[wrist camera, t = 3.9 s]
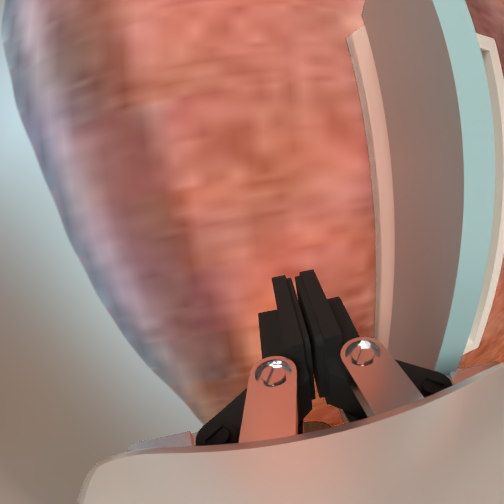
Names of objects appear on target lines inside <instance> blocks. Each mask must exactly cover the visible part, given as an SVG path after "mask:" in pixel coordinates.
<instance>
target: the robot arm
mask: <svg viewBox="0 0 504 504" xmlns="http://www.w3.org/2000/svg"><path fill="white" fill-rule="evenodd" d="M295 281H296V288H297V295H298V299H297V296H296V292H295V289H294V286H293V283H292V279H291V278H287V279H286V277H285V275H283V276H278V277H273V278H272V283H273V288H274V293H275V298H276V304H277V309H278V310H273V311H267V312H262V313H258V317H259V328H260V339H261V350H262V360H260V361H259V362H257V363H256V364H255V365H254V366H253V367H252V369H251V372H250V375H249V381H248V388H246V389H245V390H244V391H243V392H242V393H241V394H240V395H239V396H238V397H236V398H235V399H234V400H233V401H232V402H231V403H230V404H229V405H227V406H226V407H225V408H224V409H223V410H222V411H221V412H219V413H218V414H217V415H216V416H215V417H214V418H212V419H211V420H210V421H209V422H208V423H206V424H205V425H204V426H203V427H202V428H201V429H200V431H198V432H197V433H193V434H191V433H190V432H185V433H180V434H176V435H171V436H166V437H161V438H156V439H151V440H144V441H139V442H136V443H134V444H132V445H131V446H130V447H129V448H128V449H127V451H126V452H124V453H120V454H116V455H113V456H110V457H108V458H106V459H103V460H102V461H100V462H98V463H97V464H95V466H94V467H93V468H92V469H91V470H90V472H89V473H88V475H87V477H86V479H85V481H84V484H83V486H82V488H81V491H80V494H79V497H78V500H77V504H504V362H502V363H499V362H489V363H485V364H482V365H478V366H474V367H470V368H465V369H461V370H456V371H452V372H450V373H449V375H444V374H442V373H440V372H437V371H433V370H430V369H426V368H423V367H419V366H416V365H413V364H409V363H406V362H403V361H399V360H396V359H394V358H393V357H392V356H391V354H390V353H389V352H388V351H387V349H386V348H385V347H384V346H383V344H382V343H380V342H379V341H378V340H376V339H374V338H370V337H359V335H358V333H357V331H356V329H355V327H354V325H353V323H352V321H351V319H350V317H349V315H348V313H347V311H346V309H345V307H344V305H343V303H342V301H341V299H340V298H339V297H335V298H330V299H326V296H325V294H324V292H323V290H322V288H321V285H320V283H319V281H318V279H317V277H316V274H315V272H314V270H308V271H303V272H300V276H297V277H295ZM313 374H314V376H313ZM314 378H315V382H316V386H317V389H318V393H319V397H320V398H322V397H325V399H326V403H327V404H330V405H333V406H335V407H337V408H339V411H340V414H341V416H342V418H343V420H344V422H345V424H343V425H340V426H336V427H331V428H327V429H323V430H318V431H314V432H309V433H304V418H305V416H306V415H307V414H308V413H309V412H310V411H311V409H312V399H315V387H314Z"/></svg>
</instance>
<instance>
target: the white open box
mask: <svg viewBox="0 0 504 504" xmlns="http://www.w3.org/2000/svg"><path fill="white" fill-rule="evenodd" d="M476 35H477V38H478V42H479V46H480V50H481V54H482V58H483V62H484V67H485V72H486V77H487V82H488V88H489V94H490V101H491V108H492V117H493V128H494V143H495V198H494V213H493V224H492V233H491V241H490V248H489V255H488V261H487V266H486V272H485V277H484V282H483V286H482V291H481V295H480V299H479V303H478V307H477V311H476V315H475V318H474V322H473V325H472V328H471V332H470V335H469V338H468V341H467V344H466V347H465V350H464V353H463V355H464V354H466V353H468V352H470V351H472V350H474V349H476V348H478V346H479V344H480V341H481V338H482V335H483V332H484V329H485V326H486V323H487V320H488V317H489V313H490V310H491V307H492V303H493V299H494V296H495V292H496V288H497V284H498V279H499V275H500V270H501V265H502V260H503V255H504V78H503V73H502V68H501V63H500V59H499V55H498V51H497V47H496V43H495V39H493V38H490V37H487V36H484V35H481V34H478V33H476ZM346 41H347V45H348V48H349V52H350V56H351V60H352V65H353V69H354V73H355V78H356V82H357V87H358V92H359V97H360V103H361V108H362V114H363V120H364V126H365V132H366V139H367V146H368V154H369V162H370V171H371V181H372V193H373V206H374V222H375V248H376V296H375V322H374V339H376V340H378V341H379V342H380V343H382V344H383V346H384V347H385V348H386V349H387V351H388V344H389V335H390V326H391V316H392V303H393V287H394V262H395V222H394V197H393V181H392V169H391V158H390V149H389V141H388V133H387V126H386V119H385V113H384V107H383V101H382V95H381V90H380V85H379V80H378V75H377V71H376V66H375V62H374V58H373V54H372V50H371V46H370V42H369V39H368V35H367V32H366V28H365V25H363V26H362V27H360V28H359V29H358V30H356V31H355V32H353V33H352V34H351V35H349V36H348V37H347V38H346Z"/></svg>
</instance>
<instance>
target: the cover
mask: <svg viewBox="0 0 504 504" xmlns="http://www.w3.org/2000/svg"><path fill="white" fill-rule="evenodd" d="M362 18H363V21H364V25H365V28H366V32H367V35H368V39H369V42H370V46H371V50H372V54H373V58H374V62H375V66H376V71H377V75H378V80H379V85H380V90H381V95H382V101H383V107H384V113H385V119H386V126H387V133H388V141H389V149H390V158H391V169H392V181H393V197H394V222H395V262H394V287H393V303H392V316H391V326H390V335H389V344H388V352H389V353H390V354H391V356H392V357H393V358H394V359H396V360H399V361H403V362H406V363H409V364H413V365H416V366H419V367H423V368H426V369H430V370H433V371H437V372H440V373H442V374H444V375H449V373H450V372H452V371H456V370H457V369H458V366H459V364H460V361H461V358H462V355H463V353H464V350H465V347H466V344H467V341H468V338H469V335H470V332H471V328H472V325H473V322H474V318H475V315H476V311H477V307H478V303H479V299H480V295H481V291H482V286H483V282H484V277H485V272H486V266H487V261H488V255H489V248H490V241H491V233H492V224H493V213H494V198H495V143H494V128H493V117H492V108H491V101H490V94H489V88H488V82H487V77H486V72H485V67H484V62H483V58H482V54H481V50H480V46H479V42H478V38H477V35H476V32H475V28H474V25H473V22H472V19H471V16H470V13H469V10H468V7H467V5H466V2H465V0H365V3H364V7H363V11H362Z"/></svg>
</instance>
